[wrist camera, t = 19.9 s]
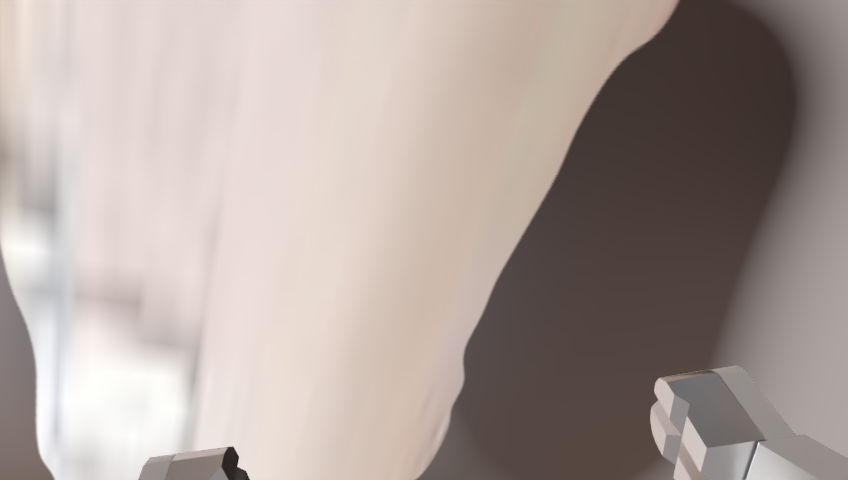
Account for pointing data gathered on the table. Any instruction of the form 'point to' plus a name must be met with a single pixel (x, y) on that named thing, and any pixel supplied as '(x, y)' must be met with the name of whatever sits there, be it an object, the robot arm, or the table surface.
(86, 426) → the table surface
